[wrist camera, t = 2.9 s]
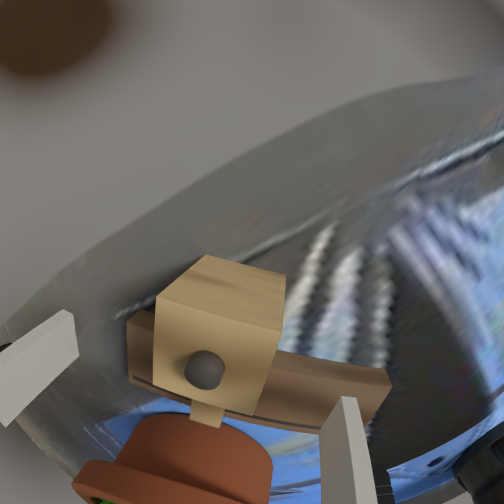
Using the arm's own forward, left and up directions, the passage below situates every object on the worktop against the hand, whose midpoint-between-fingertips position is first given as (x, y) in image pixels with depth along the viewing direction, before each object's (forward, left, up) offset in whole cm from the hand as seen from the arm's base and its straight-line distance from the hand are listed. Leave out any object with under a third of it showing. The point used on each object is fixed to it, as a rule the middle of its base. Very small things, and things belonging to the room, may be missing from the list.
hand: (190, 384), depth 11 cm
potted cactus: (-23, 0, -10) cm, 25 cm away
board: (-7, -3, -10) cm, 13 cm away
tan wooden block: (-3, 0, -10) cm, 10 cm away
